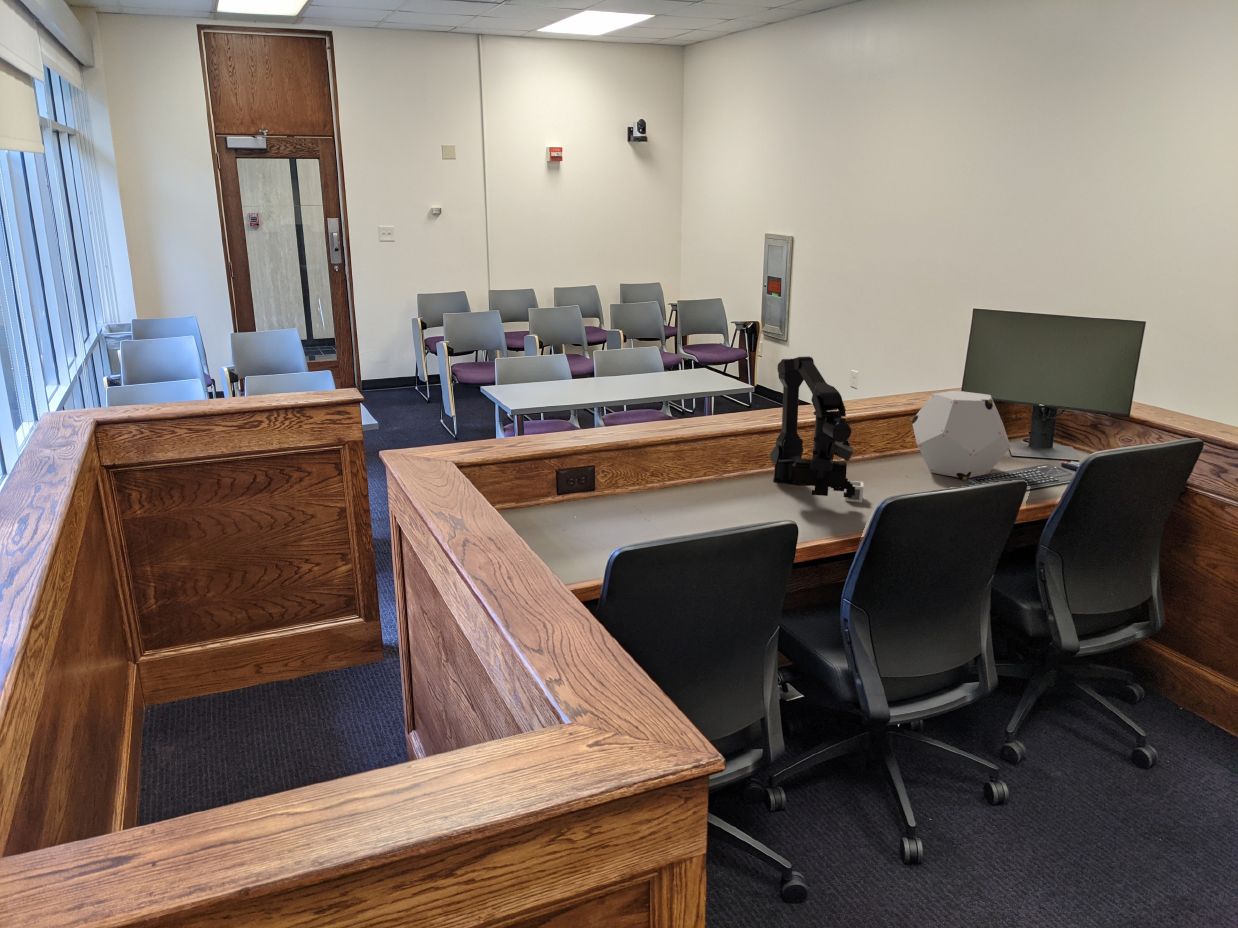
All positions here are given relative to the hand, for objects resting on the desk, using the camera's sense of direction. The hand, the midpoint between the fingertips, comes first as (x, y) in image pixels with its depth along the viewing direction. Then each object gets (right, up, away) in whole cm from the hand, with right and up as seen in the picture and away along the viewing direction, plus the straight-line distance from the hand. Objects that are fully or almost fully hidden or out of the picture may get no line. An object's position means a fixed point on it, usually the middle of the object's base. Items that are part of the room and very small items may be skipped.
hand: (820, 484), depth 259 cm
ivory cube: (+12, -5, +8) cm, 15 cm away
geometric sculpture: (+54, +3, +36) cm, 65 cm away
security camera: (+1, -3, +1) cm, 3 cm away
